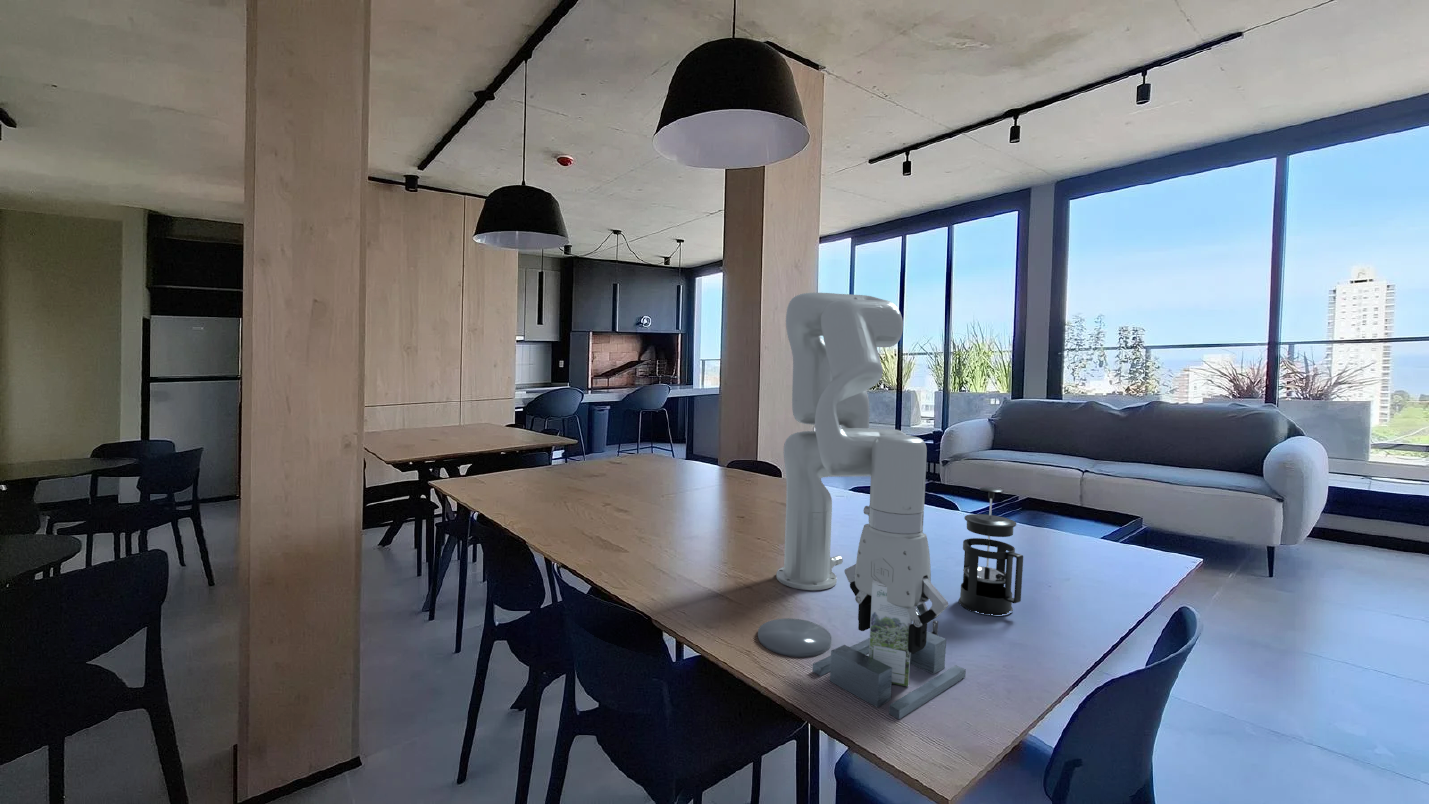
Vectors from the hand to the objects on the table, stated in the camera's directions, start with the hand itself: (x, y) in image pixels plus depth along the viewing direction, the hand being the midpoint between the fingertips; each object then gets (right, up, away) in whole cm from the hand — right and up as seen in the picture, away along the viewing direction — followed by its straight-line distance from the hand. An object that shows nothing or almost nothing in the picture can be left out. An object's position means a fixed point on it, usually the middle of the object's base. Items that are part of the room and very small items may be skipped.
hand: (890, 638), depth 84 cm
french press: (+27, -5, +26) cm, 38 cm away
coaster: (-13, -5, +11) cm, 17 cm away
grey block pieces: (+2, -5, +2) cm, 6 cm away
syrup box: (0, -6, 0) cm, 6 cm away
